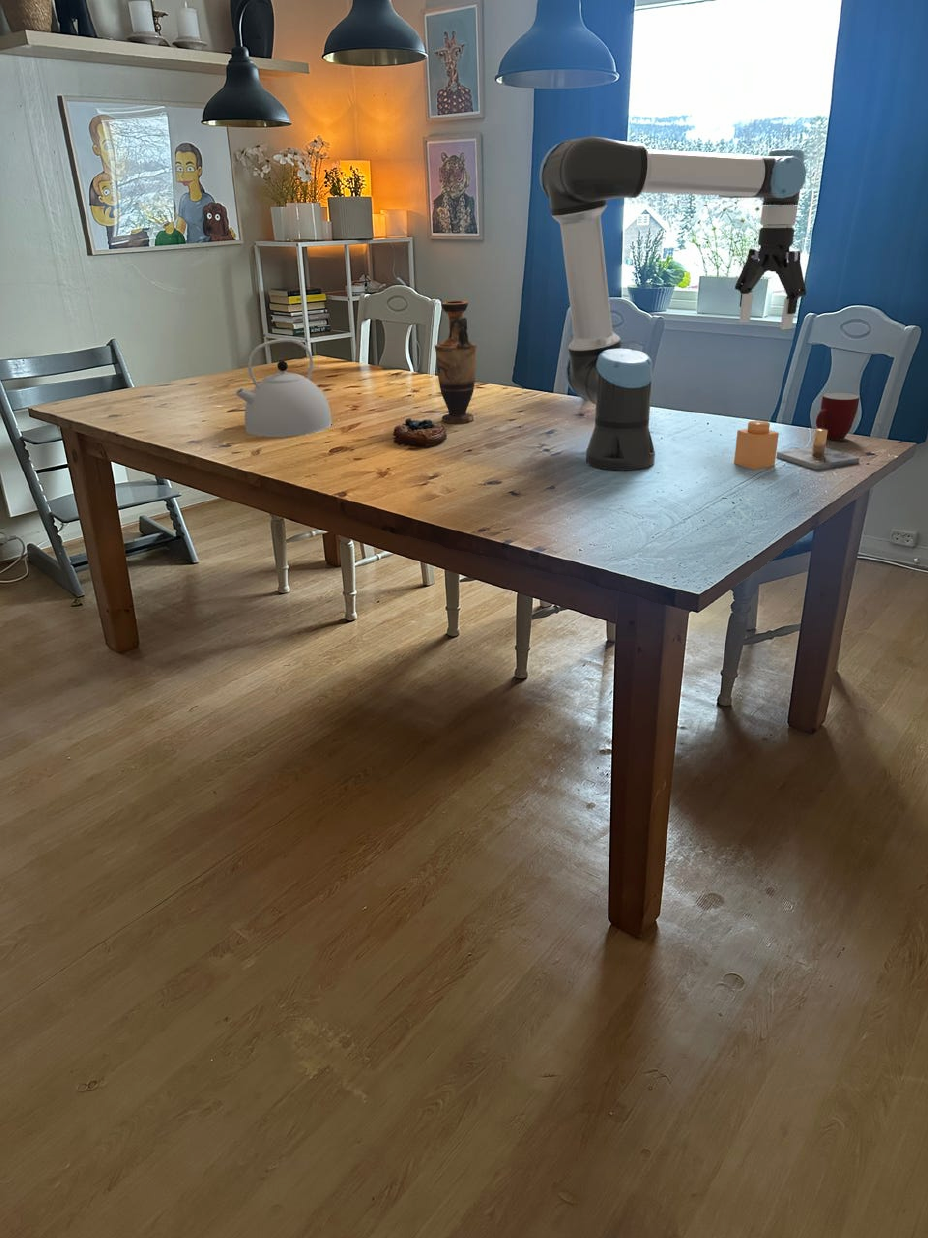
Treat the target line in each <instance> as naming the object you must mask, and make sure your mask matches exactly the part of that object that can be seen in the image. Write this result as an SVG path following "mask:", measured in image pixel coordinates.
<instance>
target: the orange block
mask: <svg viewBox="0 0 928 1238" xmlns="http://www.w3.org/2000/svg"><path fill="white" fill-rule="evenodd" d="M747 423H748V424H747V428H744V429H739V430H737V433H736V441H735V451H734V459H733V463H734V464H736V465H739V466H741V467H744V468H747V469H750V470H752V471H753V470H759V469H764V468H770V467H775V466H776V459H777V452H778V451H777V450H778V442H779V435H780V432H777V431H774V430H771V429H770V427H771V425H770V424H771V423H770V422H769V421H763V420H751V421H748V422H747Z"/></svg>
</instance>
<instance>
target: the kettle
mask: <svg viewBox="0 0 928 1238" xmlns="http://www.w3.org/2000/svg"><path fill="white" fill-rule="evenodd" d="M278 343H294V344H297V345H298V346H301V347H302V349H304V350H305V352H306V353H307V355H308V358H309V364H310V365H309V370H308V373H307V376H306V377H305V376H304V375H302V374H299V373H295V372H294V373H293V372H287V370H288V367H289V366H288V363H287V361H285V360H279V361H278V363H277V369H278V371H280V372H278V373H274V374H270V375H268V376H266V377H264V378H263V379H262V380H261V381H259V382H258V381H257V379H256V378H255V376H254V374H253V369H252V363H253V359H254V356H255V355H256V353H258V351H260V350H261V349H262V348H265V347H267V346H269V345H273V344H278ZM248 358H249V359H248V364H247V365H248V366H247V368H248V374H249V376H250V378H251V380H252V382H253V384H254V385H255V387H254V388H253V389H252V390H251V391H250V390H249V389H248V390H247V389H245V388H243V387H242V388H239V389H237V391H235V393H234V394H235V395H236V396H238V398H239V397H240V399H241V400H243V401H245V402H246V403H245V406H244V407H245V408H244V425H245V432H246V433H247V434H250V435H252V436H256V435H257V436H256V437H263V436H265V438H287V437H286V436H293V437H300V435H302V436H307V435H306V434H309V435H312V434H311V433H314V434H317V433H316V432H318V433H320V432H319V431H321V432H323V431H322V430H324V431H326V430H327V429H326V428H328V429H330V428H331V427H332V426H331V424H332V425H333V422H332V415H331V409H330V405H329V402H328V400H327V397H326V396H325V394H324V393H323V391H322V390H321V389H320V388H319V386H318V385H317V384H315V383H314V382H313V381H312V380H310V378H311V376H312V374H313V371H314V359H313V355H312V353H311V351H310V349H309V348H308V346H306V345H305V344H304V343H303V342H301V341H299V340H297V339H293V338H278V339H272V340H269V341H266V342H263V343H261V344H259V345H258V346H256V347H255V348H254V349H253V350H252V351H251V354H250V355H249V357H248ZM330 426H331V427H330ZM329 427H330V428H329ZM325 429H326V430H325Z"/></svg>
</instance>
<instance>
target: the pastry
mask: <svg viewBox="0 0 928 1238" xmlns="http://www.w3.org/2000/svg"><path fill="white" fill-rule="evenodd" d="M404 421H405V423H404V422H403V423H402V424H399V425H396V426H395V427H394V429H393V434H392V435H393V443H394V444H395V443H398V444H397V445H400V444H404V445H403V446H406V445H410V446H409V447H412V446H416V448H422V447H423V448H424V449H428V448H431V447H432V448H433V447H435V446H439V445H441V444H443V443H444V442H445V441H447V436H448V434H447V429H446V426H445V425H444V424H442V423H434V422H433V421H432V420H431V419H423V420H419V419H414V420H412V418H411V417H408V418H406V419H405V420H404ZM423 448H422V449H423Z"/></svg>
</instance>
